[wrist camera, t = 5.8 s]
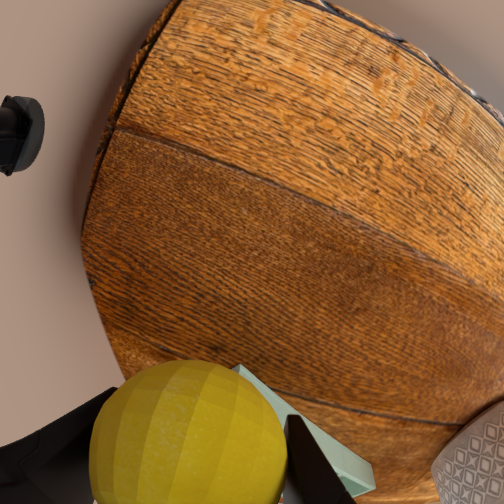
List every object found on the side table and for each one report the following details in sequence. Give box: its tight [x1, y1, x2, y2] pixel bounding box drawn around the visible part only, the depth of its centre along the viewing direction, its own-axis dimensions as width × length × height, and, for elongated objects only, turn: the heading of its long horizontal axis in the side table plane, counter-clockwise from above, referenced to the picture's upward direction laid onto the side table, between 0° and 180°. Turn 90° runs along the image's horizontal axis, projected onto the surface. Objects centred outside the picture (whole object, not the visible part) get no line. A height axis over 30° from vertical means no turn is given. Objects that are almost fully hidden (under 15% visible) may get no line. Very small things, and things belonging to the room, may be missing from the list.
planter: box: [430, 400, 504, 504], centre depth 19 cm, size 19×19×14 cm
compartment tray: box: [231, 364, 376, 498], centre depth 24 cm, size 25×9×4 cm, turn 41°
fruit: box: [89, 360, 289, 504], centre depth 6 cm, size 6×6×8 cm
